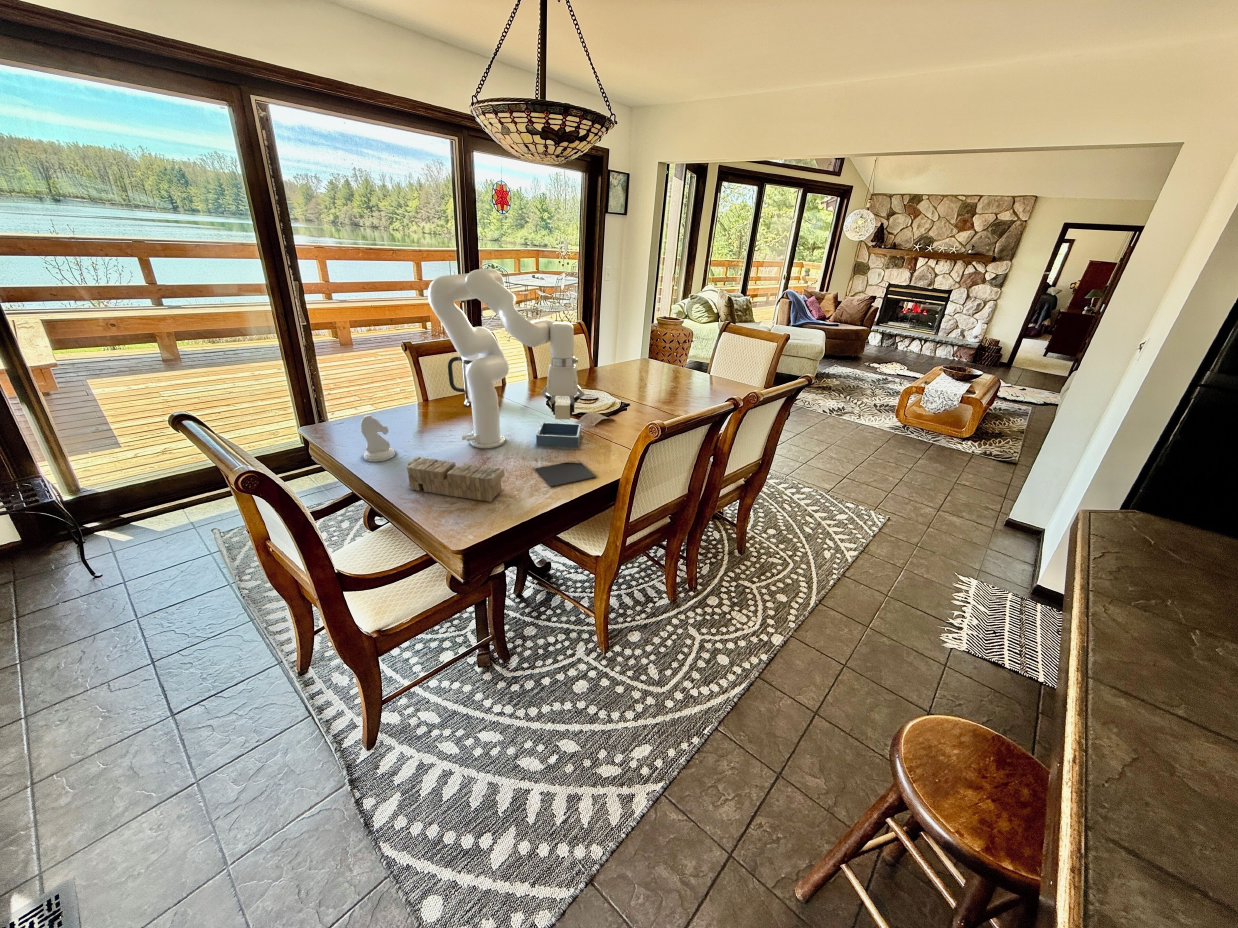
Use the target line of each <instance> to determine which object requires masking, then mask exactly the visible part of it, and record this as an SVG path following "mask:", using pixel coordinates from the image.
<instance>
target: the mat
mask: <svg viewBox="0 0 1238 928" xmlns="http://www.w3.org/2000/svg"><path fill="white" fill-rule="evenodd" d="M535 471H536V472H537V473H538V474H539V475H540V476H541V477H542V478H543V480H544V481H545V482H546V483H547V484H548V485H549V486H550V488H554V487H558V486H564V485H568V484H573V483H578V482H582V481H587V480H592V479H596V478H597V476H596V475H595V474H594V473H593V472H592V471H591V470H590V469H588V467H587V466H585V465H584V464H583V463H582V462H562V463H556V464H552V465H546V466H541V467H535Z"/></svg>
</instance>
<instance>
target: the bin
mask: <svg viewBox="0 0 1238 928" xmlns="http://www.w3.org/2000/svg"><path fill="white" fill-rule="evenodd" d="M581 436H582V424H581V423H568V422H567V423H563V422H542V421H541V423H540V426H539V427H538V430H537V432H536V435H535V441H536V445H535V446H536V447H554V448H577V449H579V446H580V441H581Z"/></svg>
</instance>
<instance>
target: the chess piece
mask: <svg viewBox="0 0 1238 928" xmlns="http://www.w3.org/2000/svg"><path fill="white" fill-rule="evenodd" d="M360 432H361V434H362V435H363V437H364V439H365V441H366V446H365V447H364V450H365V452H364V453H363V460H365V461H367V462H372V463H373V462H374V463H375V462H383V461H388V460H390V459H392V458H393V457H394V456H395V455H396V452H395V450H394V449H393V448H391V444H390V442H389V441H388V440H387V439H386V438H385V437H384V436H382V435H381V434H383V435H385V436H386V435H387V434H388V433H389V427H388V426H387V425H384V424H383V423H381V422H380V421H379V420H378V418H376V417H373V416H372V414H367V415H364V416H363V417H362V419H361V420H360ZM379 433H381V434H379Z"/></svg>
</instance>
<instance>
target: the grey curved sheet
mask: <svg viewBox="0 0 1238 928" xmlns="http://www.w3.org/2000/svg"><path fill="white" fill-rule="evenodd" d="M604 419H610V420H612V421H614V419H613V418H611V417H607V416H605V415H602V414H600V413H598V412H588V413H585V414H584V415H582V416H581V417H580V418H578V421H577V423H584V424H587V425H589V426H591V427H595V426H596V425H597V424H598V423H599V422H600V421H602V420H604Z"/></svg>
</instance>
